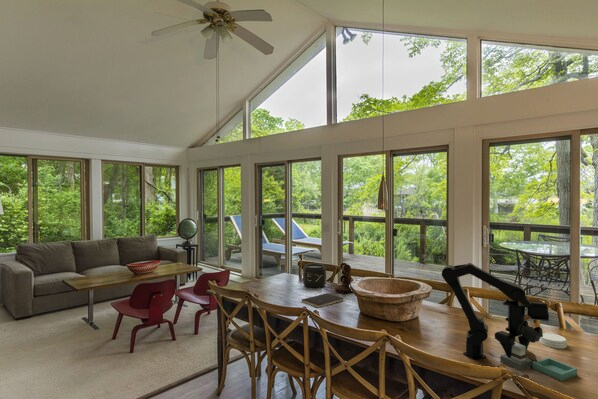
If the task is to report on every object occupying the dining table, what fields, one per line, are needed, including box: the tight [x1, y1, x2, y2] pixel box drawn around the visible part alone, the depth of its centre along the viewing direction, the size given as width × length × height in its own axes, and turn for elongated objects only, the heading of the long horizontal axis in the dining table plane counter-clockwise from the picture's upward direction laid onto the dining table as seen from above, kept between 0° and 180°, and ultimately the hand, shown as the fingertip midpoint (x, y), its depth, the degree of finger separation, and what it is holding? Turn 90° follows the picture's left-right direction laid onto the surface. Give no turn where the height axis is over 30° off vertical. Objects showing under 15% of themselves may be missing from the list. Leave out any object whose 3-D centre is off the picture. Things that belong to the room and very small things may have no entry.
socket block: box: [499, 353, 534, 372], centre depth 134 cm, size 8×8×2 cm
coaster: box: [538, 332, 568, 350], centre depth 152 cm, size 10×10×4 cm
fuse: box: [511, 342, 526, 362], centre depth 134 cm, size 3×5×8 cm, turn 24°
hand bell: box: [515, 337, 538, 362], centre depth 139 cm, size 8×8×16 cm
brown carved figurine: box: [335, 262, 352, 294], centre depth 241 cm, size 15×15×20 cm
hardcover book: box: [301, 292, 345, 308], centre depth 217 cm, size 16×23×2 cm
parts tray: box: [532, 357, 578, 382], centre depth 127 cm, size 10×10×2 cm
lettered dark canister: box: [302, 263, 327, 290], centre depth 255 cm, size 18×18×16 cm
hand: (516, 355), depth 134 cm, fingers open, 9 cm apart
